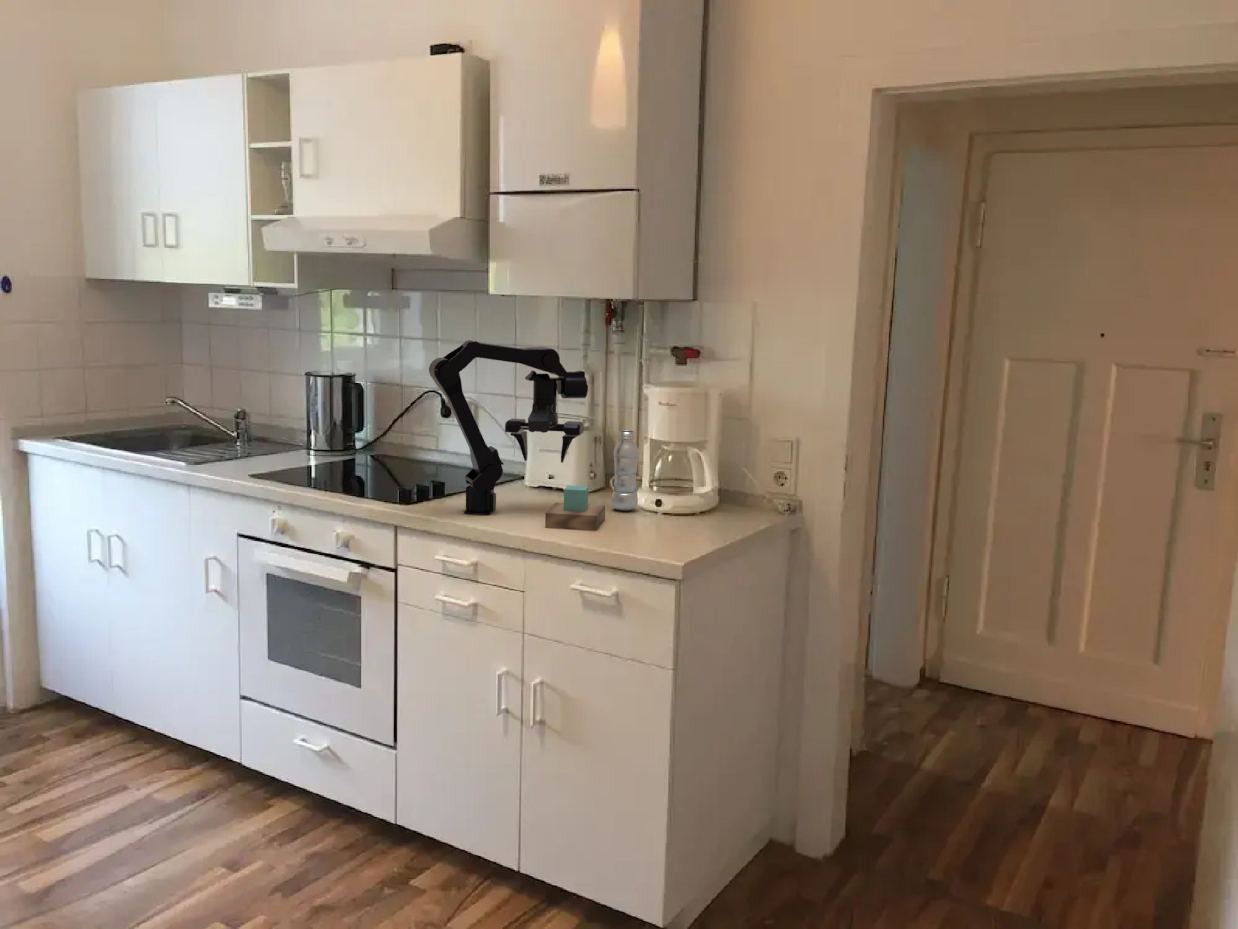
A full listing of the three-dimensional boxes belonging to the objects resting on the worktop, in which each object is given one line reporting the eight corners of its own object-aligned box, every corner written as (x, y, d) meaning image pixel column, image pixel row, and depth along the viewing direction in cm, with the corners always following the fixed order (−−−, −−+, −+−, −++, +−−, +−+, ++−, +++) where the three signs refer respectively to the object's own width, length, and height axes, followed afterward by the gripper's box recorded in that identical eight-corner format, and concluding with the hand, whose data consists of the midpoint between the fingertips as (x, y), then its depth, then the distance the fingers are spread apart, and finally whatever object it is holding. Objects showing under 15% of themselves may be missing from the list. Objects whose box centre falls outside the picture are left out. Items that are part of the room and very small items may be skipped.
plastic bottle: (622, 506, 267) (624, 428, 264) (643, 510, 263) (645, 431, 260) (605, 510, 262) (607, 431, 259) (626, 514, 258) (629, 433, 255)
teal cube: (563, 510, 244) (564, 489, 243) (567, 506, 249) (567, 485, 248) (584, 511, 243) (585, 490, 242) (588, 507, 248) (588, 486, 247)
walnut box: (545, 529, 241) (545, 512, 241) (555, 518, 253) (556, 502, 252) (596, 532, 240) (596, 515, 239) (604, 521, 251) (605, 505, 251)
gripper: (499, 400, 250) (498, 464, 253) (576, 403, 248) (574, 468, 250) (510, 396, 261) (510, 457, 264) (584, 399, 259) (583, 461, 261)
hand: (543, 461), depth 259 cm, fingers open, 9 cm apart
